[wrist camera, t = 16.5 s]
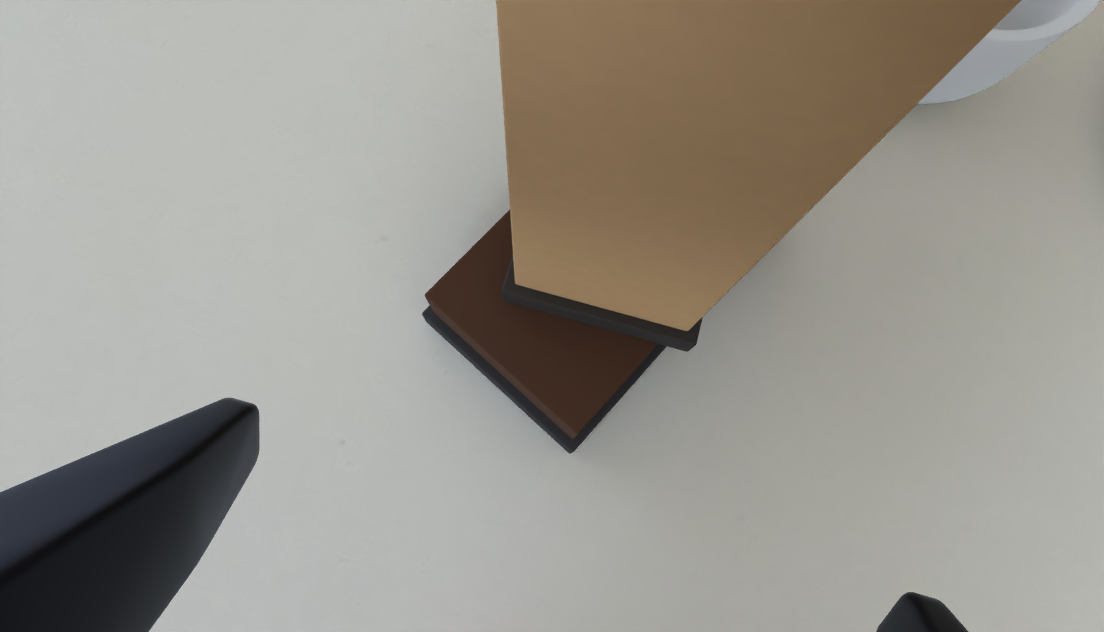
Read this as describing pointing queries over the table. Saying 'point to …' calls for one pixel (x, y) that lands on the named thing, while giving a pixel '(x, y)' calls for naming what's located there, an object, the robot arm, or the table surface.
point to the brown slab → (533, 345)
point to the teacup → (1010, 46)
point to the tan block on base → (695, 137)
